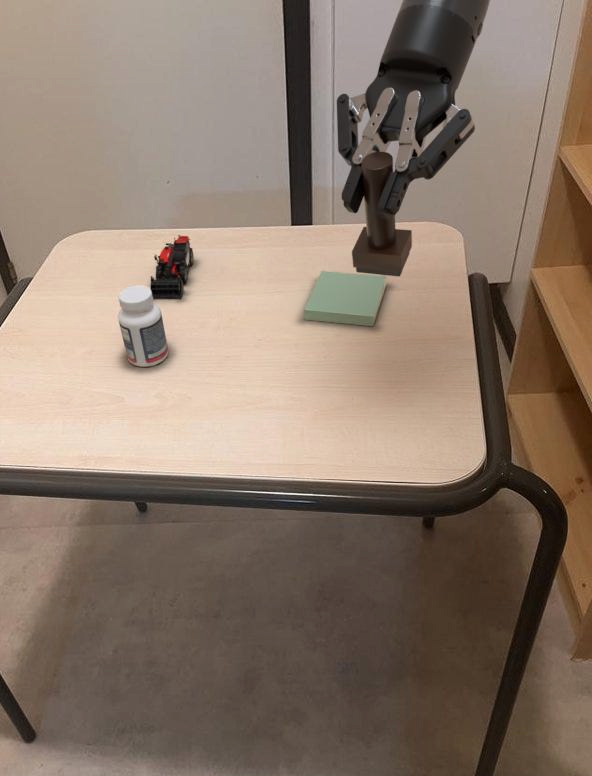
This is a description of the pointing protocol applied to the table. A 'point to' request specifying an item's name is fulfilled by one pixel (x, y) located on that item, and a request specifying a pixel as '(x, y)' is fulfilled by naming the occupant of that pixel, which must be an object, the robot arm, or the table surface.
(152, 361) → the pill bottle
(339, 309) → the tile
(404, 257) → the brown peg on base
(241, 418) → the table surface
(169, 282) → the loader
